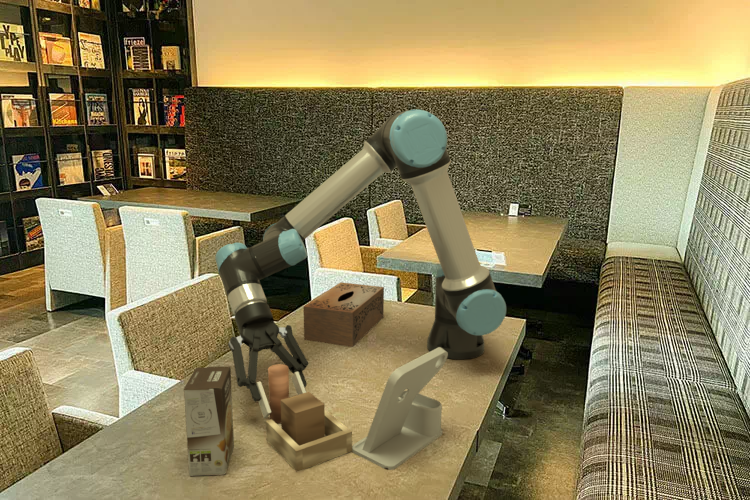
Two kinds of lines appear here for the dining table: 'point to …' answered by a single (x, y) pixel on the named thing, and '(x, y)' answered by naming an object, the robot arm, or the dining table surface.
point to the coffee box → (209, 420)
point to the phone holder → (404, 414)
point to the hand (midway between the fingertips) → (286, 409)
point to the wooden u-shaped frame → (311, 444)
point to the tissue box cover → (343, 314)
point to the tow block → (294, 408)
